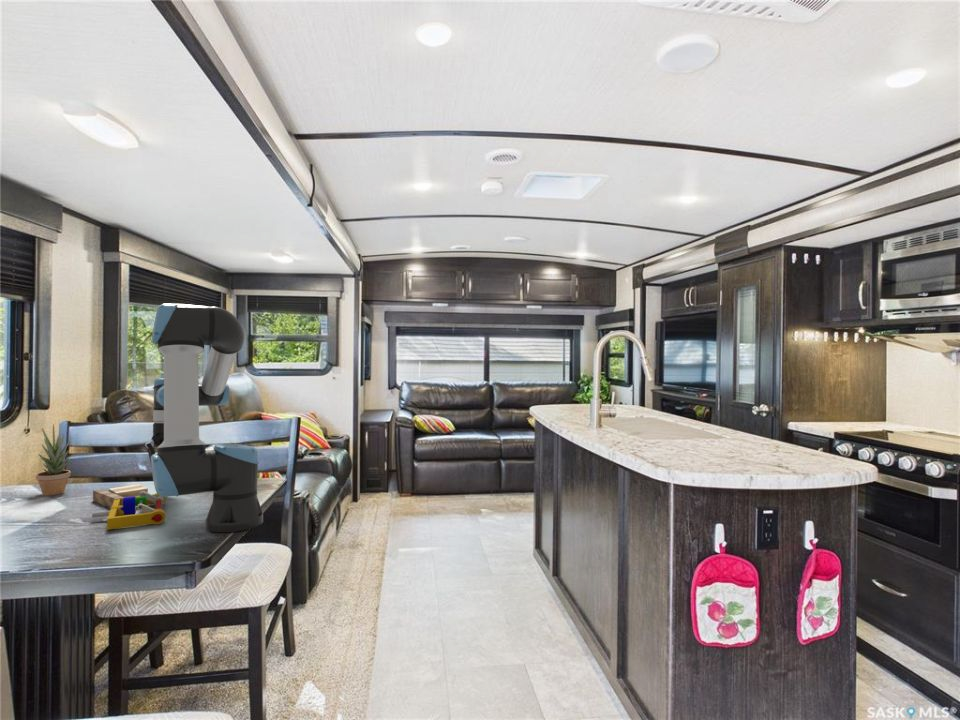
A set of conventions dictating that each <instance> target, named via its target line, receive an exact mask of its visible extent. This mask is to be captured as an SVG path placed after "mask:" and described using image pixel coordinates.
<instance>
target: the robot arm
mask: <svg viewBox="0 0 960 720" xmlns="http://www.w3.org/2000/svg"><path fill="white" fill-rule="evenodd" d="M151 343H152V344H154V345H157V351H158V352H159V353H160V354H162V355H163V378H162V377H160V378H159V377H158V378H155V379H154V382H153V383H154V384H153V387H152V388H153V410H152V411H153V412H152V413H153V415H152V416H153V417H152V421H153V424H152V436H151V440H150V441H148V442H145V443H144V444H143V446H144V447H145V448H146V450H147V453H148V454H147V455H148V457H149V462H150V465H151V475H152V481H153V485H154V490H155V491H156V493H157V494H158V495H159V496H162V497H166V498H167V497H179V496H187V495H193V494H194V495H195V494H202V493H203V494H204V493H211V492H213V494H212V497H213V498H212V502H211V505H210V508H209V510H208V512H207V513H208V514H207V516H206V519H205V529H206V531H210V532H212V533H236V532H242V531H243V532H244V531H246V530H251V529H255V528H257V527H259V526H261V525H263V523H264V513H263V511H262V507H261V504H260V501H259V497H258V475H259V473H258V468H259V457H258V456H259V455H258V450H257V448H255V447H253V446H251V445H245V444H238V443H217V444H214V446H213V449H210V450H209V449H207V450H206V443H205V442H204V441H202V440H201V438H200V407H204V406H205V407H207V406H208V407H210V406H213V407H214V406H216V407H217V406H224V405H228V403H229V402H230V394H231V393H230V392H231V391H230V387H229V385H228V384H227V383H228V380H229V377H230V375H231V374H230V373H231V371H232V368H233V366H234V365H233V364H234V362H235V358H236V356H237V354H238V353H239V352H240V351H241V349H242V348H243V345H244V343H245V332H244V328H243V326H242V324H241V322H240V321H239V320H238V317H236V316H235V315H234V314H233V313H232V312H230V311H228V310H227V309H225V308H223V307H219V306H214V305H213V306H206V305H197V304H196V305H195V304H185V303H178V302H177V303H162V304H160V305H159V306H157V309H156V313H155V317H154V323H153V329H152V333H151ZM205 346H210V349H209V353H208V358H207V361H206V364H205V365H206V366H205V369H204V372H203V375H202V376H203V377H202V380H201V383H199V380H200V378H199V356H201V354H203V352H204V351H205ZM154 445H155V447H156V450H157V452H156V451H155V448H154Z"/></svg>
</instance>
